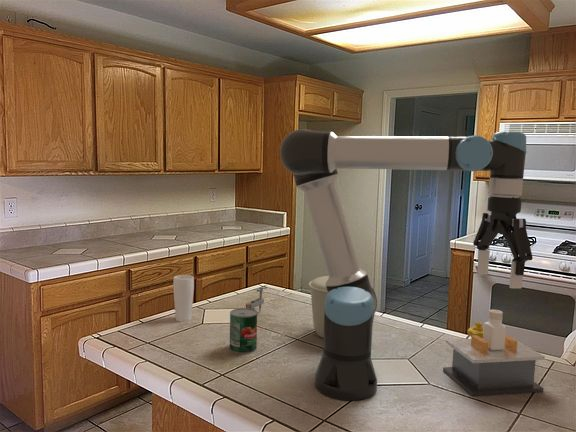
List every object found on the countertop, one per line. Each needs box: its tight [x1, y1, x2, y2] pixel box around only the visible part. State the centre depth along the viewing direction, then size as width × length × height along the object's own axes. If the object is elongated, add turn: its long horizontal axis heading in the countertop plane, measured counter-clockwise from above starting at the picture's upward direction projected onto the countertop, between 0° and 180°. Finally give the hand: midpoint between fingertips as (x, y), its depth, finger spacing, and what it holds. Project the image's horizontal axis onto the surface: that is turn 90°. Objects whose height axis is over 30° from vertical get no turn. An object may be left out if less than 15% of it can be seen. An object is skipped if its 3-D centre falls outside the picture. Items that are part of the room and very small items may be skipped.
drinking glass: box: [172, 274, 195, 323], centre depth 161 cm, size 7×7×15 cm
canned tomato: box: [229, 307, 258, 354], centre depth 138 cm, size 8×8×11 cm
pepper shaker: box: [483, 309, 507, 350], centre depth 120 cm, size 4×4×10 cm
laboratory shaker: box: [442, 333, 546, 397], centre depth 121 cm, size 19×14×11 cm
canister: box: [308, 275, 329, 339], centre depth 150 cm, size 18×18×21 cm
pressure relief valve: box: [467, 321, 484, 338], centre depth 134 cm, size 6×12×10 cm, turn 51°
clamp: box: [245, 286, 268, 313], centre depth 168 cm, size 15×2×10 cm, turn 160°
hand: (497, 281), depth 119 cm, fingers open, 13 cm apart
